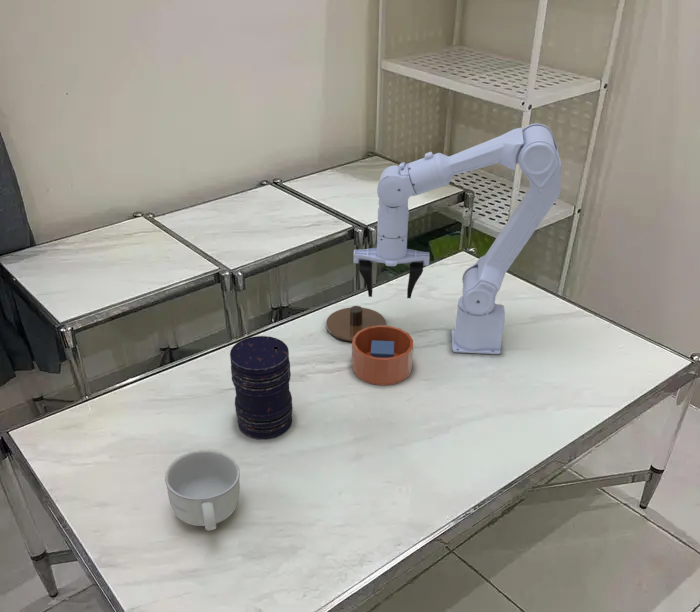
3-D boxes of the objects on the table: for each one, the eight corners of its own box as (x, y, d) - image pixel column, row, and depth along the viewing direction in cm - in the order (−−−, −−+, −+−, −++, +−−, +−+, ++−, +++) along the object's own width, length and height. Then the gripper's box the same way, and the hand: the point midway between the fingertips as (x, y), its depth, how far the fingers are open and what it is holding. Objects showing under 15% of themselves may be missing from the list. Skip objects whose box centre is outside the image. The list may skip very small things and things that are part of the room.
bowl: (411, 351, 145) (413, 326, 142) (411, 386, 136) (413, 360, 132) (354, 349, 146) (354, 324, 142) (350, 383, 137) (350, 357, 133)
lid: (386, 312, 157) (387, 294, 154) (384, 345, 147) (385, 326, 144) (329, 310, 158) (329, 292, 155) (323, 342, 148) (323, 323, 145)
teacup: (176, 486, 115) (169, 449, 110) (245, 482, 116) (240, 445, 111) (166, 555, 104) (157, 518, 99) (241, 551, 105) (237, 513, 100)
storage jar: (247, 446, 123) (239, 376, 113) (229, 412, 130) (221, 344, 121) (301, 430, 126) (298, 360, 117) (281, 398, 133) (277, 330, 124)
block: (393, 359, 142) (394, 341, 140) (392, 372, 139) (393, 354, 136) (371, 358, 143) (371, 340, 140) (370, 371, 139) (370, 353, 136)
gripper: (352, 240, 133) (352, 303, 141) (431, 242, 132) (426, 306, 140) (354, 223, 138) (354, 286, 147) (430, 226, 138) (425, 288, 146)
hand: (389, 295), depth 144 cm, fingers open, 7 cm apart
